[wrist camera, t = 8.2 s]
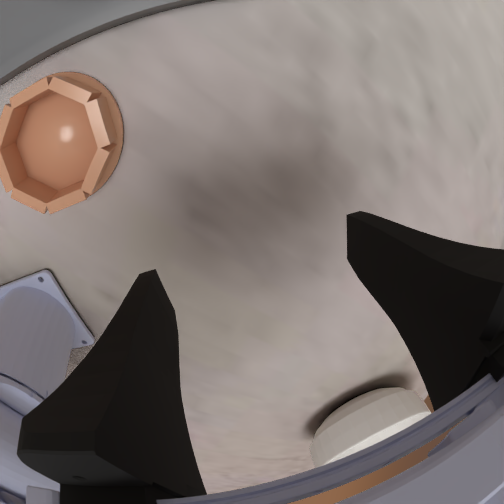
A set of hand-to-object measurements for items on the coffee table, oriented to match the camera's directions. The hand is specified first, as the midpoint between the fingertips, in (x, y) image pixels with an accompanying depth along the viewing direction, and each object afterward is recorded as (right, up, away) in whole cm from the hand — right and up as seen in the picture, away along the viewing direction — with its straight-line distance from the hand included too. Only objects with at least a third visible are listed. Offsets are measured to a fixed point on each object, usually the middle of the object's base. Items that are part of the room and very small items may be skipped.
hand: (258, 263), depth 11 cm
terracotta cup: (-12, +7, +4) cm, 14 cm away
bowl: (+17, -25, +32) cm, 44 cm away
